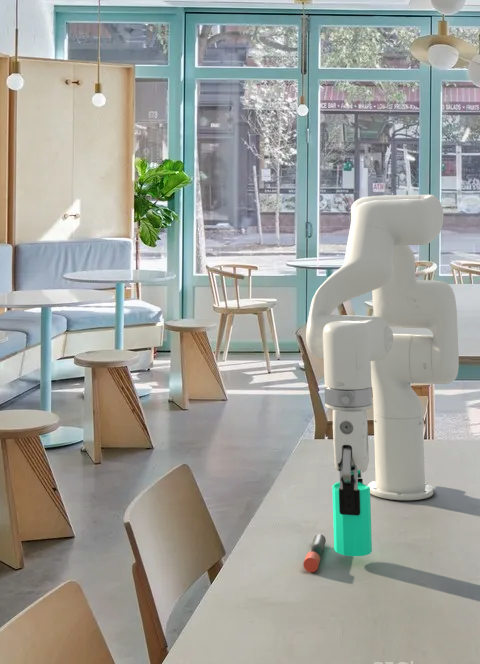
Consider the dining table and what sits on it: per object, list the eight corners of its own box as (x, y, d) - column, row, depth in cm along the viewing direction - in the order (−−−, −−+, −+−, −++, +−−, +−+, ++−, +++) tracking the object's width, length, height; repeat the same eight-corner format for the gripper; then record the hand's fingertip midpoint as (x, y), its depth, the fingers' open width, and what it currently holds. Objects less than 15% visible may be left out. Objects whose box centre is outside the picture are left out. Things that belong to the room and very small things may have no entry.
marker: (313, 543, 175) (313, 530, 175) (327, 544, 175) (327, 531, 175) (303, 571, 162) (303, 557, 162) (318, 573, 161) (317, 558, 161)
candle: (372, 557, 163) (370, 481, 163) (334, 555, 164) (332, 480, 164) (371, 544, 169) (368, 472, 169) (333, 543, 170) (331, 471, 170)
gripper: (368, 408, 158) (372, 525, 157) (375, 389, 174) (378, 495, 174) (319, 406, 160) (322, 522, 160) (330, 387, 176) (333, 492, 176)
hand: (351, 507), depth 167 cm, fingers closed on candle, 6 cm apart
